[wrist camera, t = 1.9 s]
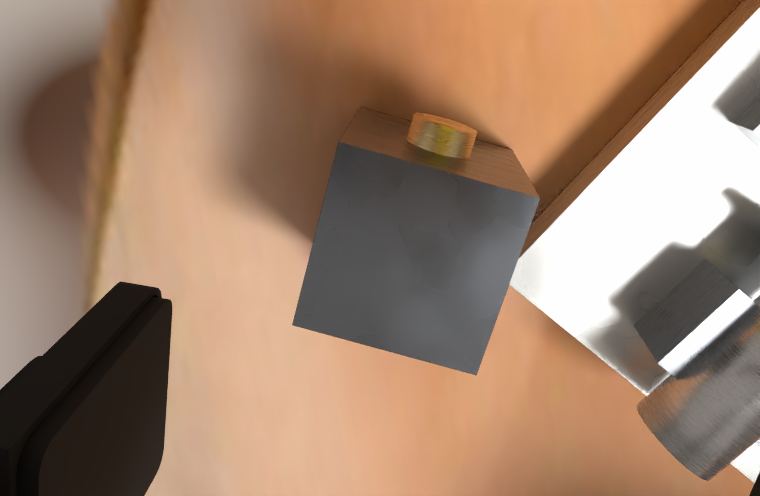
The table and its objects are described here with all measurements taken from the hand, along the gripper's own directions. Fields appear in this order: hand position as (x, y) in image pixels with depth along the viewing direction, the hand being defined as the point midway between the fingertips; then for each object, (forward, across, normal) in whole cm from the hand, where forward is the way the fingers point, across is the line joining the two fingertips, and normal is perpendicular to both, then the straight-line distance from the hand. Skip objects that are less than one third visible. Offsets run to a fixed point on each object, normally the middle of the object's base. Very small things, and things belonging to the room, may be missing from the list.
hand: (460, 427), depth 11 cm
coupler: (+13, +1, +1) cm, 13 cm away
